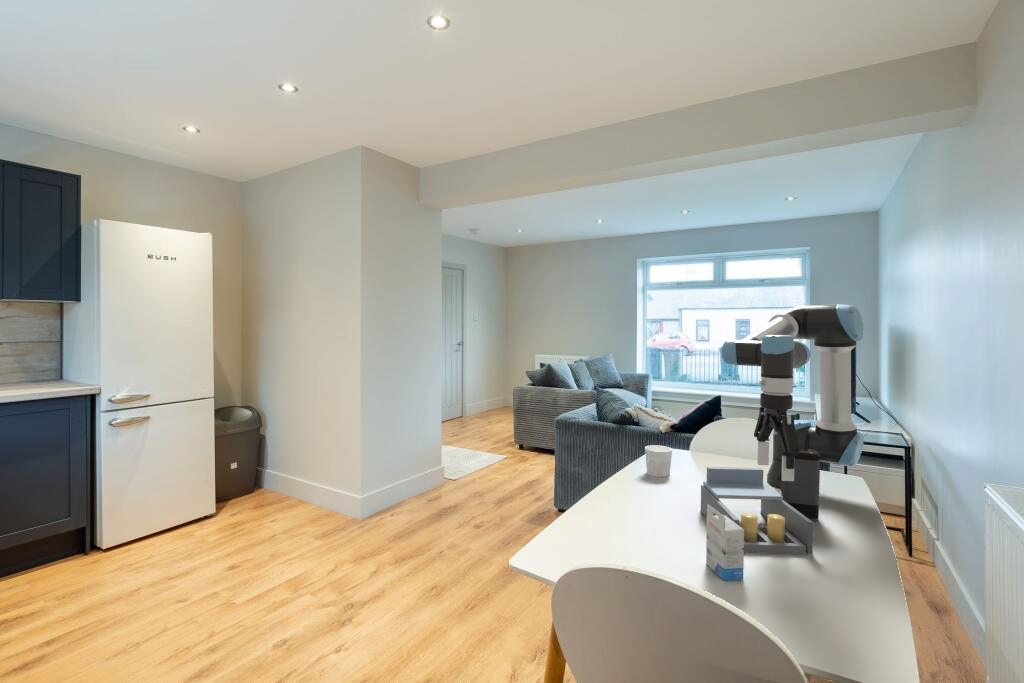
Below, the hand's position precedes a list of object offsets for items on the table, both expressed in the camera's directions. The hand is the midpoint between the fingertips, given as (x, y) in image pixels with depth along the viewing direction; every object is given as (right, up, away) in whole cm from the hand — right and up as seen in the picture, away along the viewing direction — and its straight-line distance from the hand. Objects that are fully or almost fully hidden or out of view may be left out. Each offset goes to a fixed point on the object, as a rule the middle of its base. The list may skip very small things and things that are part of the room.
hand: (774, 472), depth 129 cm
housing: (-3, -18, +7) cm, 20 cm away
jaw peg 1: (-7, -18, 0) cm, 20 cm away
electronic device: (+17, -18, +17) cm, 30 cm away
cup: (-14, -17, +58) cm, 62 cm away
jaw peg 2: (0, -18, -1) cm, 18 cm away
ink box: (-21, -19, -16) cm, 32 cm away
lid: (-3, -9, +13) cm, 17 cm away
